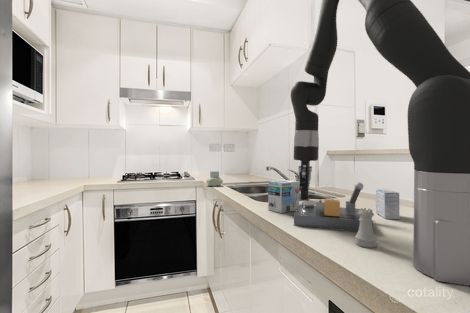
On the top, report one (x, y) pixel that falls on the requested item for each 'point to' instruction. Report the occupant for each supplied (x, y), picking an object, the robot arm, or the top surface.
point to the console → (328, 217)
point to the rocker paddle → (311, 201)
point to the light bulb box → (283, 195)
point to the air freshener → (214, 179)
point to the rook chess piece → (365, 229)
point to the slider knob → (331, 207)
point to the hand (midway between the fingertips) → (304, 199)
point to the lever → (356, 192)
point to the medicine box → (387, 204)
